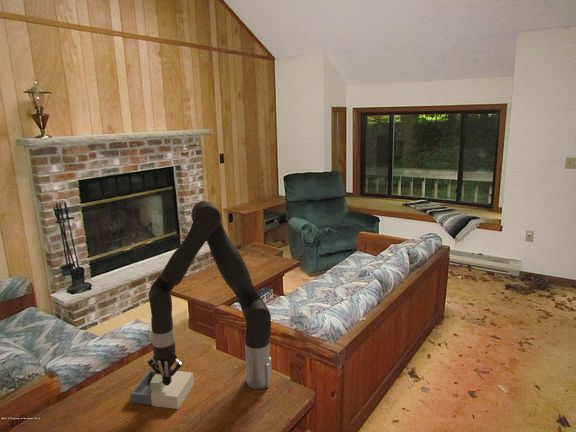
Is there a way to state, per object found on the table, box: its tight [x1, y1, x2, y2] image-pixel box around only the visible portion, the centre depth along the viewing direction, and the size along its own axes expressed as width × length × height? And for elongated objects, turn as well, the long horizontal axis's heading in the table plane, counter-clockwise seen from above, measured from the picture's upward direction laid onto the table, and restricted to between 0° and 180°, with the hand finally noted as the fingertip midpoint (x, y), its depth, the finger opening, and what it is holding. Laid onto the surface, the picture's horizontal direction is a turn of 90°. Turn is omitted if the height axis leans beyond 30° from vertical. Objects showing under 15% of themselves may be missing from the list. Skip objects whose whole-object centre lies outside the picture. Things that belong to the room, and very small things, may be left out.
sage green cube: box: [150, 375, 166, 392], centre depth 151 cm, size 4×4×4 cm
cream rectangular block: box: [151, 370, 195, 410], centre depth 155 cm, size 10×14×5 cm
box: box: [130, 369, 156, 406], centre depth 157 cm, size 8×14×4 cm, turn 169°
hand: (167, 383), depth 151 cm, fingers closed
